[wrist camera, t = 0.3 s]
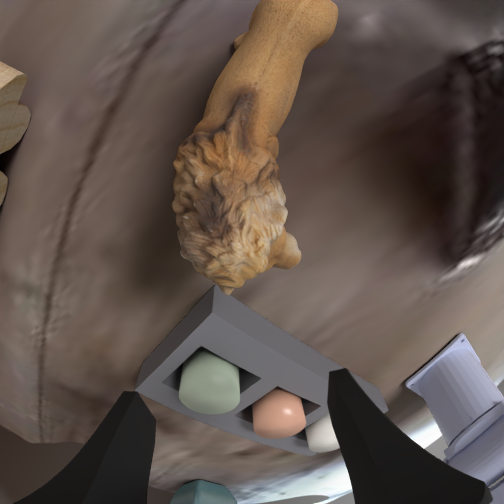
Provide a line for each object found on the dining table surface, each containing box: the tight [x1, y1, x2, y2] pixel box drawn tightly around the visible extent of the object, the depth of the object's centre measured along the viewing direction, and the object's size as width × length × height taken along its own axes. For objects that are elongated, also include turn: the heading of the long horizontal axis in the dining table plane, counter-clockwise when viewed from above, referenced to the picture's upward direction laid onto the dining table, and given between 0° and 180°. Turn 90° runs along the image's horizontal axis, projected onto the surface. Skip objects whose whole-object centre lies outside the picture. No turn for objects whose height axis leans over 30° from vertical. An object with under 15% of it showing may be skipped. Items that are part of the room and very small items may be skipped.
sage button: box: [179, 347, 240, 414], centre depth 19 cm, size 4×4×3 cm
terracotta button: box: [252, 386, 306, 439], centre depth 21 cm, size 4×4×3 cm
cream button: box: [305, 413, 340, 452], centre depth 23 cm, size 4×4×3 cm
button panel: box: [135, 285, 389, 457], centre depth 22 cm, size 20×10×3 cm, turn 49°
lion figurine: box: [172, 0, 338, 295], centre depth 10 cm, size 15×5×9 cm, turn 167°
